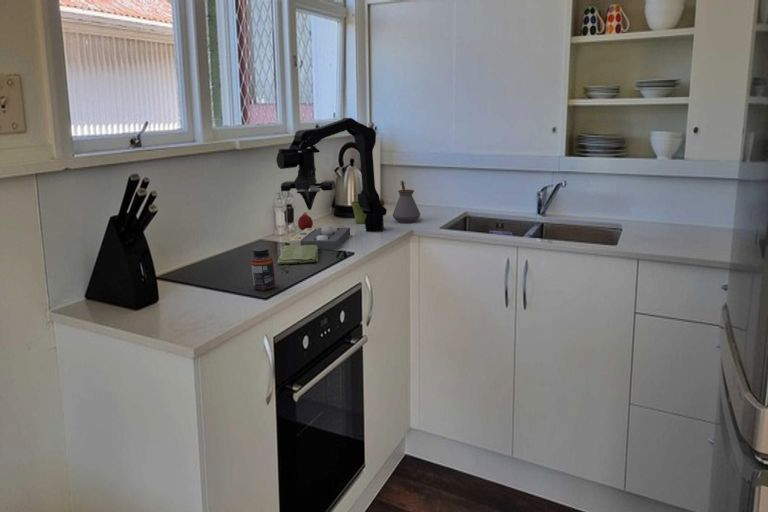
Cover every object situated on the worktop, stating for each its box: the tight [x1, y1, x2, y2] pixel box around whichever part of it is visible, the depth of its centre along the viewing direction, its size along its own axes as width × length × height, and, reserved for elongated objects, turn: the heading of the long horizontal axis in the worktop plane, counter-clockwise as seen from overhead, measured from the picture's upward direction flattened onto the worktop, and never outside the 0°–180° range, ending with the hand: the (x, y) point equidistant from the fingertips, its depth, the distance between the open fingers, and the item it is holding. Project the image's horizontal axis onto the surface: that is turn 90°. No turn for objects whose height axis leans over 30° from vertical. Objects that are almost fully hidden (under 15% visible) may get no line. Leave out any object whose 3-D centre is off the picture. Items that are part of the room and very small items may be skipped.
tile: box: [288, 227, 317, 246], centre depth 219 cm, size 4×20×3 cm, turn 170°
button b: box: [320, 224, 333, 236], centre depth 217 cm, size 4×4×4 cm
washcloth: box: [277, 244, 319, 266], centre depth 197 cm, size 13×18×3 cm
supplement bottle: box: [250, 246, 276, 291], centre depth 166 cm, size 6×6×11 cm
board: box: [302, 227, 351, 250], centre depth 217 cm, size 12×22×3 cm, turn 170°
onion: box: [297, 212, 314, 232], centre depth 234 cm, size 6×6×8 cm
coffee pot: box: [392, 180, 421, 224], centre depth 252 cm, size 21×12×15 cm, turn 3°
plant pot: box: [350, 200, 367, 225], centre depth 249 cm, size 9×9×9 cm
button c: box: [316, 235, 328, 240], centre depth 210 cm, size 4×4×4 cm
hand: (309, 209), depth 216 cm, fingers closed
